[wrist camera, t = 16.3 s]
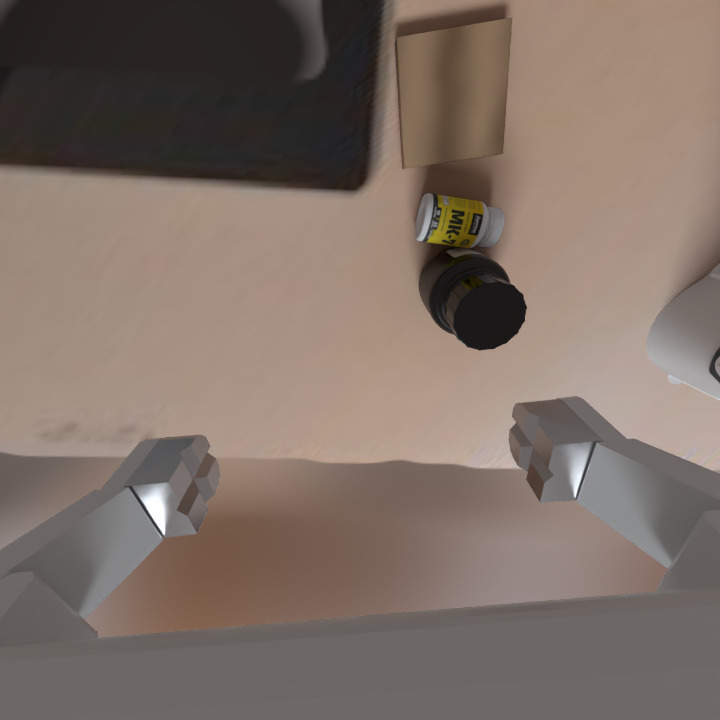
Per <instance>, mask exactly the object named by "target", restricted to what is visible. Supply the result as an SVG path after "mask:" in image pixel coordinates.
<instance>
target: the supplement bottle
mask: <svg viewBox="0 0 720 720" xmlns="http://www.w3.org/2000/svg"><path fill="white" fill-rule="evenodd" d="M504 219H505V216H504V212H503V210H502V209H500V208H494V207H486V205H485V204H484V203H483V202H481V201H476V200H470V199H463V198H457V197H451V196H444V195H438V194H431V193H426V194H425V195H424V196H423V198H422V200H421V203H420V206H419V210H418V213H417V218H416V225H415V236H416V239H417V240H418V241H422V242H429V243H436V244H442V245H450V246H457V247H464V248H472V247H474V246H475V245H477V246H480V247H492V246H494V245H495V244H496V242H497V241H498V239H499V237H500V235H501V233H502V230H503V226H504Z"/></svg>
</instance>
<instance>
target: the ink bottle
mask: <svg viewBox="0 0 720 720" xmlns="http://www.w3.org/2000/svg"><path fill="white" fill-rule="evenodd" d="M419 291H420V296H421V299H422V301H423V303H424V305H425V307H426V308H427V310H428V312H429V313H430V315H431V317H432V318H433V320H434V321H435V322H436V324H437V325H438V326H439V327H440V328H442V329H443V330H445V331H446V332H448V333H450V334H453V335H455V336H456V337H457V339H458V340H459V341H461V342H462V343H463V344H465V345H466V347H468V348H469V347H470V348H474V349H477V350H486V349H495V348H496V347H498V346H500V345H503V344H506V343H507V342H508V341H509V340H510V339H511V338H512V337H513V336H515V335H516V334H517V333H518V332H519V329H520V328H521V326H522V324H523V323H524V321H525V314H526V309H527V306H526V304H525V301H524V298H523V297H524V296H523V294H522V293H520V292H519V291H518V290H517V289H516V288H515V286H513V285H512V284H510V280H509V277H508V275H507V273H506V272H505V270H504V269H503V268H502V267H501V266H500V265H499V264H498V263H497V262H495V261H494V260H492V259H490V258H488V257H487V256H485V255H483V254H481V253H479V252H477V251H475V250H473V249H470V248H464V247H454V248H450V249H447V250H445V251H443V252H441V253H440V254H438V255H437V256H435V257H434V258H433V259H432V260H431V261H430V262H429V263H428V265H427V266H426V268H425V269H424V271H423V273H422V275H421V278H420V283H419Z"/></svg>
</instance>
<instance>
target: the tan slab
mask: <svg viewBox="0 0 720 720" xmlns="http://www.w3.org/2000/svg"><path fill="white" fill-rule="evenodd" d="M511 27H512V18H506V19H500V20H495V21H489V22H483V23H477V24H471V25H466V26H460V27H454V28H448V29H442V30H436V31H431V32H425V33H419V34H413V35H407V36H401V37H397V39H396V42H395V52H396V69H397V86H398V103H399V120H400V137H401V154H402V169H406V168H413V167H419V166H426V165H433V164H439V163H446V162H452V161H459V160H465V159H472V158H478V157H485V156H492V155H498V154H503V144H504V129H505V114H506V100H507V85H508V71H509V56H510V41H511Z"/></svg>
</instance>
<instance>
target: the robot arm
mask: <svg viewBox="0 0 720 720" xmlns="http://www.w3.org/2000/svg"><path fill="white" fill-rule="evenodd" d="M646 346H647V353H648V356H649V358H650V359H651V361H652V362H653V363H654V364H655V365H656V366H658V367H659V368H660V369H662V370H663V371H664V372H665V373H666V375H667V377H668V379H669V381H670V382H671V383H672V384H680V383H685V384H687V385H689V386H692V387H694V388H696V389H698V390H700V391H702V392H704V393H706V394H708V395H710V396H712V397H714V398H716V399H718V400H720V263H719V264H718V265H717V266H715V267H714V268H713V269H712V270H711V271H710V272H709V273H708V274H707V275H706V276H705V277H704V278H703V279H701V280H700V281H698V282H697V283H695V284H694V285H692V286H690V287H689V288H687V289H686V290H684V291H683V292H682V293H680V294H679V295H678V296H677V297H675V298H674V299H673V300H672V301H671V302H670V303H669V304H668V305H666V307H665V308H664V309H663V310H662V311H661V312H660V313H659V315H658V316H657V318H656V319H655V321H654V322H653V324H652V326H651V328H650V331H649V333H648V337H647V344H646ZM512 417H513V418H514V420H515V421H516V424H515V425H514V426H513V427H512V428H511V429H510V433H509V444H510V450H511V453H512V456H513V458H514V460H515V462H516V463H517V465H518V466H519V467H521V468H523V469H524V470H526V471H527V472H528V473H527V478H526V480H527V482H528V483H529V485H530V487H531V488H532V490H533V492H534V493H535V495H536V497H537V498H538V500H539V502H554V501H570V500H577V502H578V503H579V504H580V505H582V506H583V507H584V508H586V509H587V510H589V511H590V512H591V513H593V514H594V515H595V516H597V517H598V518H600V519H601V520H602V521H604V522H605V523H606V524H608V525H609V526H610V527H612V528H613V529H614V530H616V531H617V532H619V533H620V534H622V535H623V536H624V537H625V538H627V539H628V540H630V541H631V542H632V543H634V544H635V545H636V546H638V547H639V548H640V549H642V550H643V551H645V552H646V553H648V554H649V555H650V556H651V557H653V558H654V559H656V560H657V561H658V562H660V563H661V564H662V565H664V566H665V567H666V568H668V570H667V572H666V574H665V575H664V577H663V579H662V580H661V582H660V583H659V585H658V589H657V592H645V593H635V594H634V593H633V594H621V595H610V596H597V597H585V598H574V599H561V600H549V601H537V602H525V603H512V604H500V605H488V606H476V607H464V608H451V609H439V610H427V611H415V612H403V613H390V614H378V615H366V616H355V617H343V618H331V619H320V620H307V621H295V622H283V623H271V624H259V625H247V626H235V627H223V628H211V629H199V630H187V631H175V632H163V633H151V634H139V635H127V636H114V637H102V638H98V633H97V631H96V630H95V629H94V628H93V627H92V626H90V624H88V623H87V622H86V621H85V619H86V618H87V617H88V616H89V614H91V613H92V612H93V611H94V610H95V609H96V608H97V607H98V606H99V605H100V604H101V603H102V601H103V600H104V599H106V598H107V596H108V595H109V594H110V593H111V592H112V591H113V590H114V589H115V588H116V587H117V586H118V585H119V584H120V583H121V582H122V581H123V580H124V579H125V578H126V577H127V576H128V575H129V574H130V573H131V572H132V571H133V570H134V569H135V568H136V567H137V566H138V565H139V564H140V563H141V562H142V561H143V560H144V558H145V557H147V555H149V553H151V552H152V550H153V549H154V548H155V547H156V546H157V545H158V544H159V543H160V542H161V541H162V540H163V538H166V537H173V536H182V535H190V534H197V533H198V531H199V528H200V526H201V524H202V522H203V519H204V517H205V515H206V512H207V510H208V508H207V505H206V503H205V502H206V501H207V500H209V499H210V498H211V497H212V496H213V495H214V494H215V492H216V490H217V487H218V485H219V477H220V471H219V465H218V462H217V460H216V458H215V457H213V456H212V455H210V454H209V453H207V452H208V450H209V448H210V444H209V442H208V440H207V438H206V437H205V436H203V435H191V436H178V437H165V438H156V439H146V440H144V441H142V442H140V443H139V444H138V445H137V446H136V447H135V449H134V450H133V451H132V452H131V453H130V455H129V456H128V457H127V458H126V459H125V461H124V462H123V463H122V464H121V466H120V467H119V468H118V469H117V470H116V472H115V473H114V474H113V475H112V476H111V478H110V479H109V480H108V481H107V482H106V484H105V485H104V486H103V487H102V489H101V490H94V491H92V492H91V493H89V494H88V495H86V496H84V497H83V498H81V499H80V500H78V501H77V502H75V503H74V504H72V505H70V506H69V507H68V508H66V509H64V510H62V511H61V512H59V513H58V514H56V515H55V516H53V517H51V518H50V519H48V520H47V521H45V522H44V523H42V524H41V525H39V526H37V527H36V528H34V529H33V530H31V531H29V532H28V533H26V534H25V535H23V536H22V537H20V538H18V539H17V540H15V541H14V542H12V543H10V544H9V545H7V546H6V547H4V548H3V549H1V550H0V720H720V474H719V473H716V472H714V471H711V470H709V469H707V468H704V467H702V466H699V465H697V464H694V463H692V462H690V461H687V460H685V459H682V458H680V457H677V456H675V455H673V454H670V453H668V452H665V451H663V450H660V449H658V448H656V447H653V446H651V445H648V444H646V443H643V442H641V441H639V440H636V439H626V438H625V437H624V436H623V435H622V434H621V433H620V432H619V431H618V430H616V429H615V428H614V427H613V426H612V425H611V424H610V423H609V422H608V421H607V420H605V419H604V418H603V417H602V416H601V415H600V414H599V413H598V412H597V411H596V410H595V409H593V408H592V407H591V406H590V405H589V404H588V403H587V402H586V401H585V400H584V399H582V398H580V397H577V396H574V397H566V398H558V399H555V400H544V401H535V402H525V403H516V404H515V406H514V408H513V413H512Z"/></svg>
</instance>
